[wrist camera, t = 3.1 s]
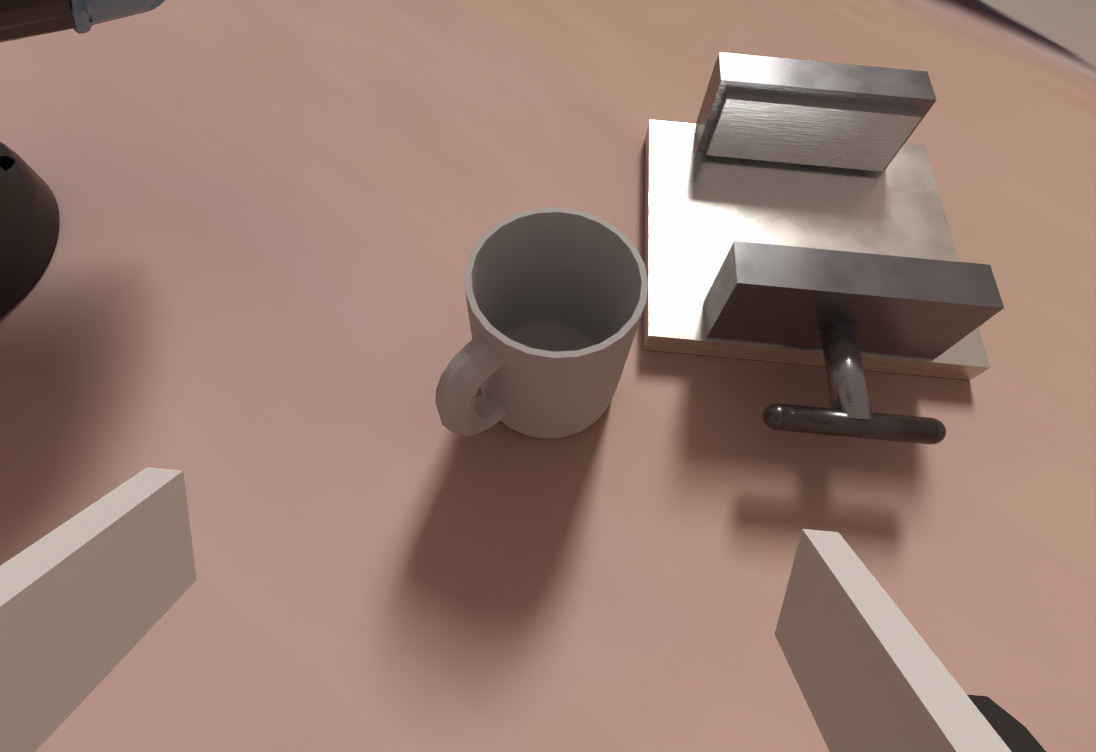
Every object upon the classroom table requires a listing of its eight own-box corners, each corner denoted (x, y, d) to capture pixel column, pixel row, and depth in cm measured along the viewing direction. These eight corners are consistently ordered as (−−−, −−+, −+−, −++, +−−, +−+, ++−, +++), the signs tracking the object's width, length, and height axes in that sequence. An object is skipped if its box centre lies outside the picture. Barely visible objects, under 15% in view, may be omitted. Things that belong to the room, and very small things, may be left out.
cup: (643, 383, 31) (686, 284, 23) (500, 509, 27) (491, 445, 20) (550, 298, 33) (560, 180, 25) (407, 405, 30) (366, 309, 22)
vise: (641, 444, 29) (672, 389, 23) (645, 138, 39) (667, 46, 33) (997, 477, 29) (1115, 430, 23) (910, 163, 39) (978, 75, 33)
